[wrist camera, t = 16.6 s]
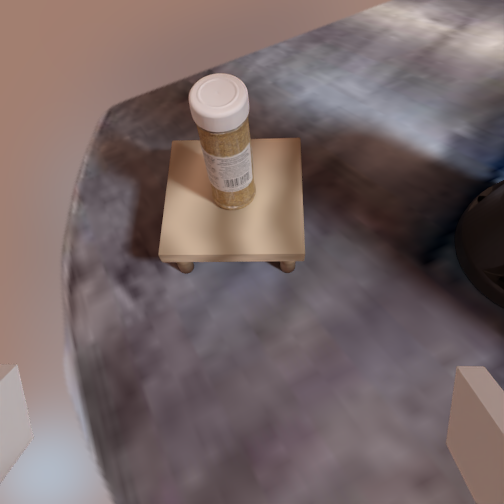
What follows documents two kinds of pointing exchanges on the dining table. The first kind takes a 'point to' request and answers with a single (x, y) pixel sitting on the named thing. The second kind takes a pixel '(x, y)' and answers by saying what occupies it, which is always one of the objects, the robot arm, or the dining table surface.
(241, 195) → the spice jar
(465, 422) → the robot arm
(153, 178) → the dining table surface
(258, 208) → the stool
